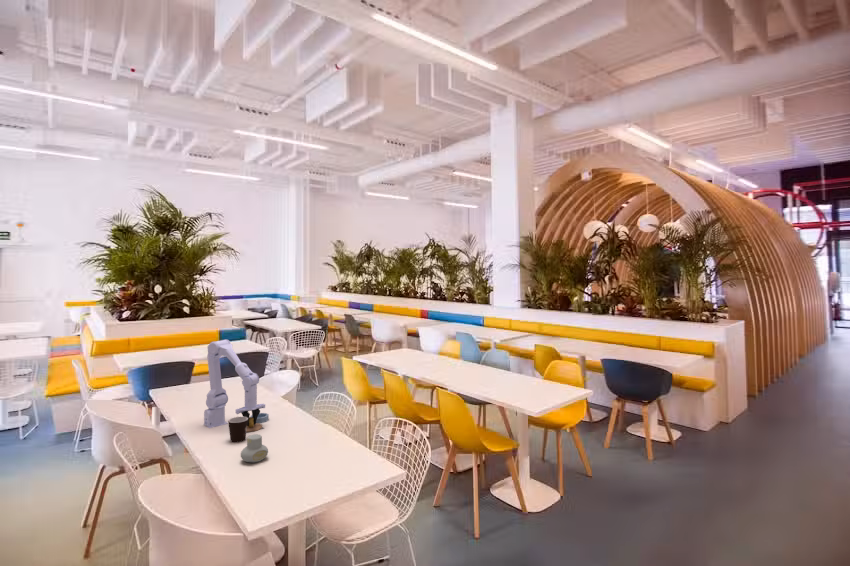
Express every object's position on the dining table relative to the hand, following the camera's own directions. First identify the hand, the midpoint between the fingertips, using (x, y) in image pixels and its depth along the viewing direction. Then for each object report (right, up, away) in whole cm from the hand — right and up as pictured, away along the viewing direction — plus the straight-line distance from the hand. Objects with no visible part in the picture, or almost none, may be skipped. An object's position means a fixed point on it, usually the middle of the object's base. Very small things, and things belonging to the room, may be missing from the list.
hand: (250, 424), depth 224 cm
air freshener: (+16, -3, -36) cm, 40 cm away
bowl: (0, -2, +12) cm, 12 cm away
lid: (0, -2, 0) cm, 2 cm away
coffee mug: (0, -3, -14) cm, 14 cm away
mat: (0, -2, 0) cm, 2 cm away
